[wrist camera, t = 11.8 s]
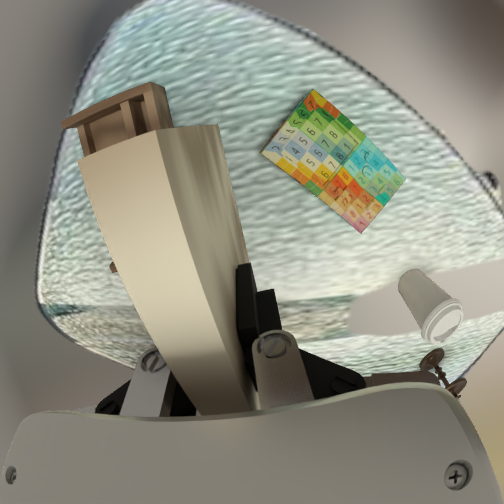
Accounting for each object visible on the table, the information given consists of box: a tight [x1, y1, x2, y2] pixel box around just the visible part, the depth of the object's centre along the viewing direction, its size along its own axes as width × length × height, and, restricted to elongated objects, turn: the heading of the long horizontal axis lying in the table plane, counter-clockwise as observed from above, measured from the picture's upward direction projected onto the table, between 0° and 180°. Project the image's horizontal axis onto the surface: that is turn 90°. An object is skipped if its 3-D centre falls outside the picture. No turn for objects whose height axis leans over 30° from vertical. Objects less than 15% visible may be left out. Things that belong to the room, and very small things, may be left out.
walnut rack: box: [61, 82, 174, 273], centre depth 36 cm, size 24×14×7 cm, turn 11°
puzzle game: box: [260, 89, 406, 233], centre depth 38 cm, size 12×5×20 cm
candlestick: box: [419, 348, 467, 410], centre depth 50 cm, size 11×11×35 cm
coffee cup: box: [398, 269, 464, 344], centre depth 44 cm, size 10×10×15 cm
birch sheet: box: [77, 124, 261, 416], centre depth 13 cm, size 14×2×14 cm, turn 11°
